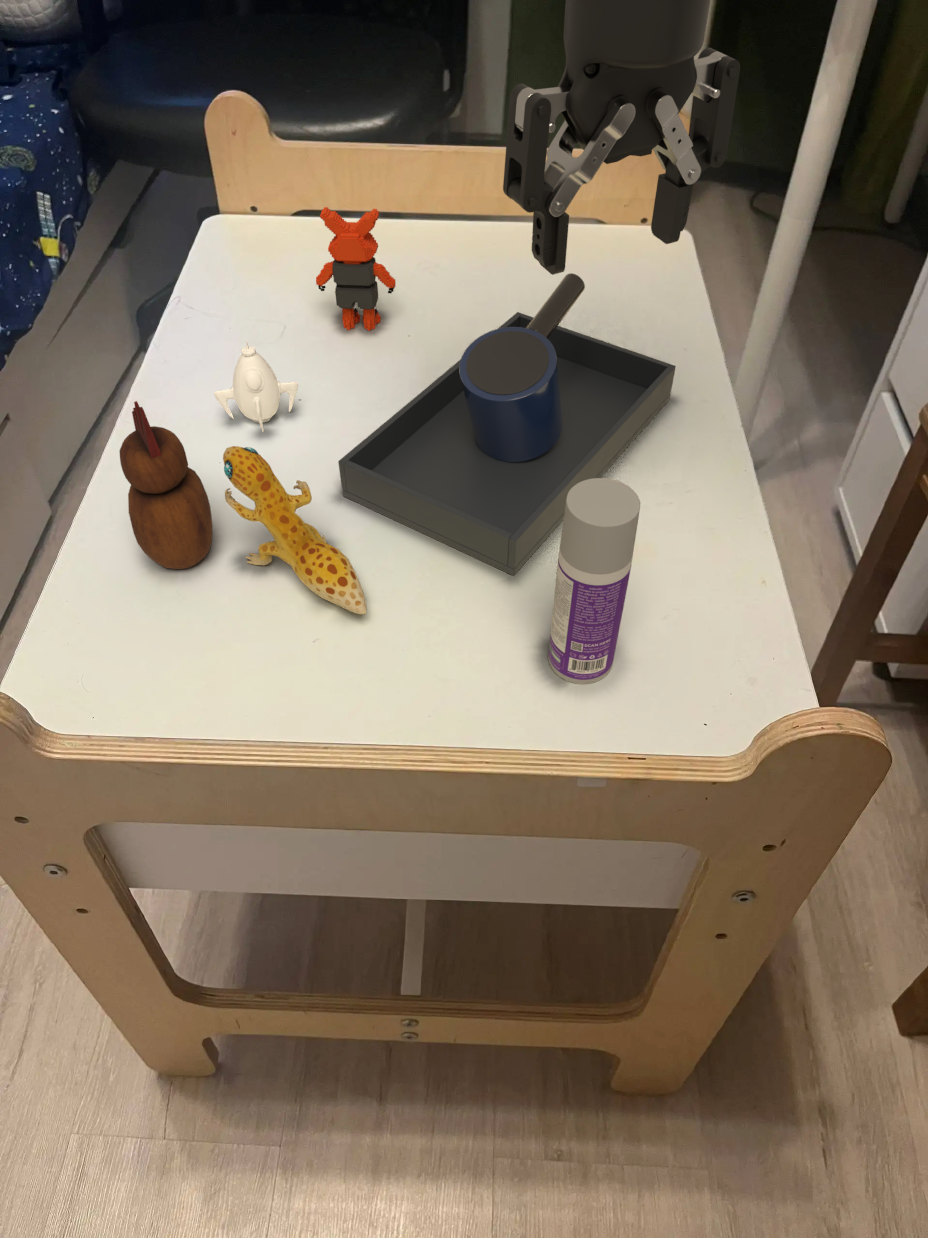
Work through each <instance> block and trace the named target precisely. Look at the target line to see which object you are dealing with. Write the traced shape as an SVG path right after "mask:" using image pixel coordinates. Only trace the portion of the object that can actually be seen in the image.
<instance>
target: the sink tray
mask: <svg viewBox="0 0 928 1238" xmlns="http://www.w3.org/2000/svg"><path fill="white" fill-rule="evenodd" d="M534 317H535V316H530V315H528V314H524V313H522V312H519V311H517V312H516V313H515V314H514V315H512V316H511V317H510V318H509V319H507V320H506V321H504V322H503V324H501V325H500V326H499V327H497V329H500V328H505V327H523V328H527V326H528V325H529V324H530V322H531V321H532V320H533V318H534ZM548 340H549V341H550V342H551V344H552V345H553V347H554V349H555V352H556V356H557V367H558V377H559V387H560V397H561V408H562V418H563V428H562V432H561V434H560V437H559V438H558V440H557V442H556V443H555V444H554V445H553V446H552V447H551V448H550V449H549V450H548V451H547V452H545V453H544V454H542V455H541V456H539V457H536V458H534V459H531V460H527V461H523V462H505V461H500V460H497V459H494V458H492V457H490V456H489V455H487V454H486V453H484V452H483V451H482V450H481V449H480V447H479V446H478V444H477V443H476V440H475V438H474V434H473V429H472V425H471V421H470V416H469V412H468V408H467V403H466V399H465V395H464V391H463V386H462V382H461V378H460V373H459V366H460V361H461V359H459V360H458V361H457V362H455V364H453V365H452V366H450V368H448V369H447V370H446V371H445V372H444V373H442V375H440V376H439V377H437V379H435V380H434V381H433V382H432V383H431V384H429V385H428V386H426V387H425V388H424V389H423V390H422V391H421V392H420V393H418V394H417V395H416V396H415V397H414V398H412V399H411V400H410V401H408V403H406V404H405V405H404V406H403V407H402V408H400V409H399V410H398V411H396V412H395V414H393V415H392V416H391V417H390V418H388V419H387V420H386V421H385V422H384V423H383V424H381V425H380V426H379V427H377V428H376V429H375V430H374V431H373V432H372V433H370V434H369V435H368V436H366V438H364V439H363V440H362V441H361V442H360V443H359V444H357V445H356V446H355V447H354V448H352V449H351V450H350V451H348V452H347V453H346V454H344V456H343V457H341V458H340V459H339V460H338V462H337V464H338V471H339V477H340V484H341V491H342V497H344V498H346V499H348V500H350V501H353V502H354V503H357V504H359V505H361V506H363V507H365V508H367V509H369V510H372V511H374V512H376V513H378V514H380V515H382V516H385V517H387V518H389V519H391V520H393V521H395V522H397V523H399V524H402V525H404V526H406V527H408V528H410V529H412V530H414V531H417V532H419V533H421V534H423V535H425V536H428V537H430V538H431V539H434V540H436V541H438V542H439V543H442V544H445V545H446V546H449V547H451V548H453V549H455V550H458V551H460V552H461V553H464V554H465V555H468V556H471V557H472V558H475V559H477V560H479V561H480V562H483V563H485V564H487V565H489V566H492V567H494V568H496V569H498V570H501V571H502V572H504V573H507V574H508V575H511V576H515V575H517V573H518V572H519V571H520V570H521V568H522V567H523V566H524V565H525V564H526V563H527V562H528V560H529V559H531V557H532V556H533V555H534V554H535V553H536V552H537V550H538V549H539V548H540V547H541V546H542V545H543V543H544V542H546V540H547V539H548V538H549V537H550V536H551V535H552V533H553V532H554V531H555V530H556V529H557V528H558V526H560V524H561V523H563V520H564V513H565V506H566V498H567V494H568V492H569V491H570V489H571V488H572V487H573V486H575V485H576V484H578V483H579V482H581V481H584V480H587V479H593V478H603V477H602V476H604V475H605V473H606V472H607V471H608V470H609V469H610V468H611V467H612V465H613V464H614V463H615V462H617V460H618V459H619V457H620V456H621V455H622V454H623V453H624V452H625V451H626V449H628V447H629V446H630V445H631V444H632V443H633V442H634V441H635V439H637V437H638V436H639V435H640V434H641V433H642V431H643V430H645V428H646V427H647V426H648V425H649V424H650V423H651V421H652V420H653V419H654V418H655V417H656V416H657V415H658V414H659V412H660V411H661V410H662V409H663V408H664V407H665V406H666V405H667V403H668V402H669V401H670V398H671V393H672V389H673V383H674V378H675V374H676V368H677V366H676V365H675V364H672V363H668V362H666V361H663V360H660V359H657V358H654V357H651V356H648V355H645V354H642V353H639V352H637V351H634V350H630V349H628V348H625V347H621V346H619V345H617V344H613V343H610V342H607V341H604V340H601V339H598V338H595V337H592V336H589V335H587V334H583V333H581V332H577V331H575V330H572V329H569V328H566V327H563V326H560V325H558V326H557V327H556V329H555V330H554V331H553V333H552V334H551V336H550V337H549V338H548Z"/></svg>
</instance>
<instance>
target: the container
mask: <svg viewBox="0 0 928 1238" xmlns="http://www.w3.org/2000/svg"><path fill="white" fill-rule="evenodd" d="M640 511H641V500H640V498H639V495H638V494H637V492H635V490H634V489H633V488H631V487H630V486H629V485H628V484H625V483H624V482H622V481H619V480H616V479H612V478H607V477H606V478H605V477H601V478H593V479H587V480H584V481H581V482H579V483H578V484H576V485H575V486H573V487H572V488H571V489H570V491H569V492H568V494H567V498H566V506H565V513H564V520H563V521H562V528H561V536H560V543H559V550H558V557H557V566H556V573H555V574H556V575H555V584H554V585H555V586H554V595H553V605H552V613H551V614H552V615H551V624H550V635H549V644H548V655H547V657H548V658H547V659H548V663H549V666H550V668H551V669H552V671H553V673H555V674H556V675H557V676H558V677H559V678H561V679H562V680H565V681H567V682H569V683H572V684H578V685H588V684H593V683H597V682H599V681H601V680H602V679H605V677H607V676H608V674H609V673H610V672H611V670H612V668H613V663H614V658H615V653H616V649H617V644H618V638H619V633H620V628H621V623H622V617H623V612H624V607H625V601H626V596H627V591H628V587H629V582H630V581H629V580H630V575H631V570H632V565H633V564H632V562H633V557H634V551H635V550H634V549H635V543H636V538H637V531H638V525H639V524H638V523H639V518H640Z"/></svg>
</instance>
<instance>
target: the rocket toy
mask: <svg viewBox="0 0 928 1238" xmlns="http://www.w3.org/2000/svg"><path fill="white" fill-rule="evenodd" d="M245 342H246V346H243V347H242V348H241V354H240V356H239V357H238V359H237V361H236V364H235V367H234V370H233V377H232V386H231V387H230V388H229V389H222V390H217V391H214V392H213V395H214V398H215V399H216V401H217V402H218V404H219V405H220V406H221V407H222V409H223V410H224V411H225V412H226V413H227V414H228V416H229V417H230V418H231V419H233V420H234V419H235V418H234V415H233V413H232V411H231V409H230V406H229V404H228V401H229V400H234V401H235V402H236V405H237V406H238V409H239V410H240V412H241V413H242V414H243V415H244V416H245V417H246V418H247V419H250V420H252V421H253V422H254V423H257V424H259V426H260V428H261V431H262V433H264V432H265V431H264V423H267V422H269V421H270V420H271V419H272V417H273V416H275V414H277V412H278V410H279V406H280V401H281V395H282V394H283V393H287V394H288V399H289V400H288V412H289V413H291V411H292V408H293V406H294V403H295V400H296V397H297V393H298V389H299V383H298V382H296V381H289V382H280V381H279V380H278V378H277V376H276V374H275V372H274V370H273V369H272V367H271V365H270V364H269V363H268V362H267V360H266V359H265V358H264V357H263V356H262V354H260V353H259V352H257V350H256V348H255V346H252V345H249V344H248V341H247V340H246V341H245Z"/></svg>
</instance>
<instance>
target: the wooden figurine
mask: <svg viewBox="0 0 928 1238" xmlns="http://www.w3.org/2000/svg"><path fill="white" fill-rule="evenodd" d="M133 403H134V407H133V408H132V411H131V414H132V420H133V424H134V429H135V430H134V431H132V432H130V433H129V434H128V435H127V436H126V437H125V438H124V439H123V442H122V443H121V446H120V447H119V448H120V449H119V461H120V467H121V470H122V473H123V475H124V477H125V479H126V481H127V482H128V483H129V484H130V487H129V490H128V493H127V498H128V499H127V500H128V503H127V504H128V505H127V508H128V516H129V519H130V523H131V527H132V532H133V535H134V538H135V539H136V540H135V541H136V544H137V545H138V546H139V547H140V549H141V550H142V552H143V553H144V554H145V555H146V556H147V557H148V558H149V559H150V560H152V561H153V562H155V563H156V564H157V565H159V566H161V567H163V568H165V569H166V568H167V569H173V570H179V569H182V570H184V569H188V568H191V567H194V566H195V565H197V564H198V563H200V562H201V561H202V560H203V559H205V558H206V557H207V555H208V553H209V552H210V549H211V546H212V541H213V516H212V509H211V504H210V500H209V496H208V494H207V491H206V489H205V486H204V484H203V481H202V480H201V478H200V476H199V475H198V473H197V472H196V470H194V469H192V468H191V467H189V462H188V457H187V453H186V450H185V448H184V444H183V443H182V442H181V440H180V438H179V437H178V436H177V435H176V433H174V432H173V431H171V430H169V429H167V428H165V427H162V426H155V425H154V426H151V425H150V422H149V420H148V418H147V414H146V412H145V410H144V408H143V406H140V404H139V402H138V401H137V400H135V401H133Z"/></svg>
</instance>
